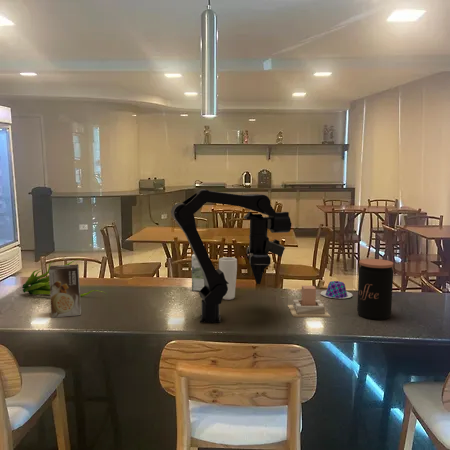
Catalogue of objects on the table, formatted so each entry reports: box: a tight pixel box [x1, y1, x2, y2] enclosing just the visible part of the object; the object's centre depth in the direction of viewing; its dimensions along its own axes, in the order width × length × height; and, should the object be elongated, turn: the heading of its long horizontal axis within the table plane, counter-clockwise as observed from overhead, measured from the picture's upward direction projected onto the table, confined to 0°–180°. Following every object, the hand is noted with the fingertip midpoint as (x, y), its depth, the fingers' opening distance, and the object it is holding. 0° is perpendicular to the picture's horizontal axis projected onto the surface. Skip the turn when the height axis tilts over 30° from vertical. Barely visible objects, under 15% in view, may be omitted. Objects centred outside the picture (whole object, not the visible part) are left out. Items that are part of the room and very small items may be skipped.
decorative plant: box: [22, 258, 108, 298], centre depth 164 cm, size 18×30×15 cm, turn 52°
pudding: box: [320, 280, 354, 299], centre depth 168 cm, size 12×12×5 cm
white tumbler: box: [218, 256, 238, 301], centre depth 162 cm, size 7×7×15 cm
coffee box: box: [48, 263, 82, 319], centre depth 144 cm, size 9×6×16 cm
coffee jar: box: [356, 258, 394, 321], centre depth 143 cm, size 11×11×18 cm
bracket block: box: [300, 285, 317, 306], centre depth 147 cm, size 4×4×8 cm
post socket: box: [287, 298, 331, 318], centre depth 148 cm, size 12×12×3 cm
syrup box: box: [191, 253, 205, 292], centre depth 174 cm, size 6×6×14 cm
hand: (257, 280), depth 142 cm, fingers open, 9 cm apart
